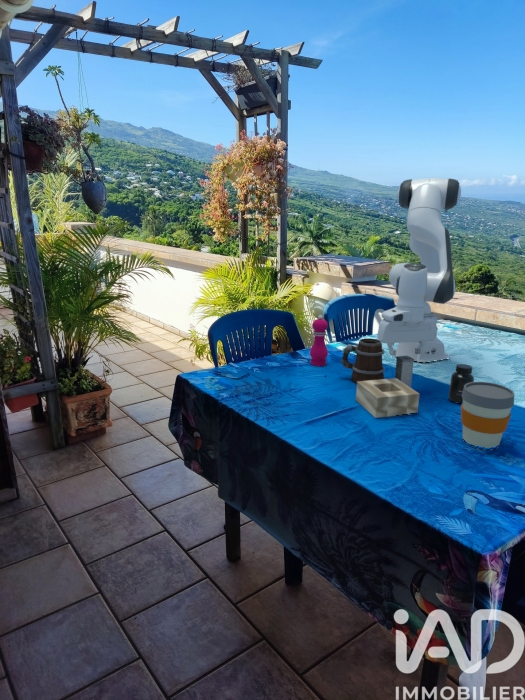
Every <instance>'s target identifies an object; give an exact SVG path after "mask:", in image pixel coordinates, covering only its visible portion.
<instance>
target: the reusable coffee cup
mask: <svg viewBox="0 0 525 700" xmlns="http://www.w3.org/2000/svg"><path fill="white" fill-rule="evenodd" d="M462 398H463V404H460V422H461V424H462V440H463V439H464V440H465V441H466V442H467V443H469V444H472V445H475V446H479V447H485V448H491V447H496V446H498V445H499V446H500V443H501V441H502V437H503V434H504V432H505V431H506V430H507V428H508V425H509V422H510V418H511V417H512V413H511V410H512V407H514V405H515V392H514V391H513V390H512V389H511V388H509V387H507V386H505V385H501V384H498V383H493V382H487V381H474V382H470V383H467V384H465V385H464V389H463V392H462ZM464 440H463V441H464ZM467 443H466V444H467ZM499 446H498V447H499Z"/></svg>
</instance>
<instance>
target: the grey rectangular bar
mask: <svg viewBox="0 0 525 700" xmlns="http://www.w3.org/2000/svg"><path fill="white" fill-rule="evenodd" d="M395 359H396V363H395V372H394V378H397V379H398V380H400V381H401V382H403V383H404V384H406V385H407V386H409V387H410V388H412V387H411V386H412V379H413V370H414V363H415V362H414V359H413V358H411V357H409V356H395Z"/></svg>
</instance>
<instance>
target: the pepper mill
mask: <svg viewBox="0 0 525 700" xmlns="http://www.w3.org/2000/svg"><path fill="white" fill-rule="evenodd" d="M311 325H312V326H311V327H312V329H313V336H314V339H313V343H312V345H311V348H310V350H309V356H310V357H311V359H310V365H312V366H314V367H324V366H326V365H327V359H326V358H327V357H328V355H329V352H328V348H327V345H326V343H325V337H326V335H327V329H328V328H329V327H328V326H329V324H328V321H326V320H325V318H323V315H322V314H319V315H318V316H317V319H315V320H313V322H312V324H311Z"/></svg>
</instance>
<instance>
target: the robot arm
mask: <svg viewBox="0 0 525 700" xmlns="http://www.w3.org/2000/svg"><path fill="white" fill-rule="evenodd" d="M396 195H397V196H396V197H397V202H398V205H399V206H400V207H401V208H403V209H406V210H408V211H407V218H406V228H407V231H408V233H409V234H410V236H409V246H408V247H409V249H410V251H412V253H414V254H416V255H417V256H418V258H419V259H420V262H419V263H417V262H401V263H396V264H394V265H393V266H392V267H391V269H389V274H388V279H389V283H390V284H391V286H392V287H393V288H394V289H395V293H396V295H397V296H398V299H397V301H396V306H395V307H393V308H389V309H386V310H384V311H382V313H381V318H382V319H381V321H380V322H379V325H378V329H377V336H376V337H377V340H379V341H380V342H381V343H382V344H386V345H387V347H388V349H389V355H390V356H394V357H396V356H409V357H411V358H413V359H414V361H417V362H416V363H419V362H428V361H434V360H441V359H447V358H450V359H451V357H450V355H449V354H448V353H446V352H445V351H446V349H445V344H444V343H443V342H442V340H441V339H439V338H438V335H437V334H438V331H439V330H438V329H439V328H438V326H437V324H438V316H437V314H434V313H432V308H431V305H430V304H429V302H431V303H434V304H440V305H445V304H446V303H448V302H450V301H451V300H453V298H454V296H455V293H456V281H455V277H454V270H453V269H454V268H453V257H452V255H453V253H452V244H451V236H450V232H449V230H448V229H449V228H446V227H444V225H443V223H442V210H443V209H444V213H446V212H448V210H451V209H453V208H454V207H456V206H457V204H458V203H459V201H460V199H461V195H462V189H461V185H460V182H459V180H458V179H454V178H442V177H430V178H418V179H412V178H411V179H405V180H403V181H402V182H401V183H400V185H399V187H398V189H397V194H396ZM395 343H396V344H397V347H396V349H394V346H395Z"/></svg>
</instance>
